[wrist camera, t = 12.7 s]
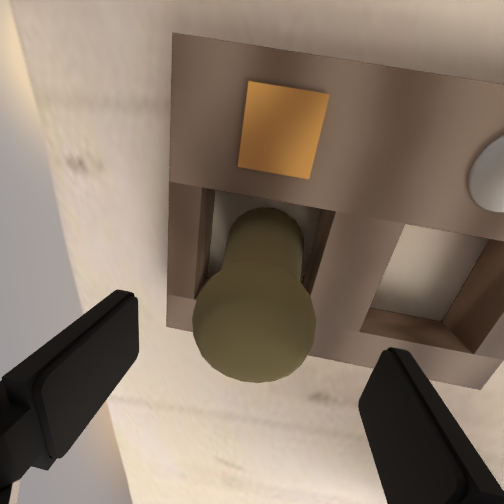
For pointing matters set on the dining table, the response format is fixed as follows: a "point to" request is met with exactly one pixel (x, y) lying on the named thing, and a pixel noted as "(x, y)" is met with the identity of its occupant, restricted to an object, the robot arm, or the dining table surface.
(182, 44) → the socket board
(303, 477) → the dining table surface
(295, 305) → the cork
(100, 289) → the dining table surface
